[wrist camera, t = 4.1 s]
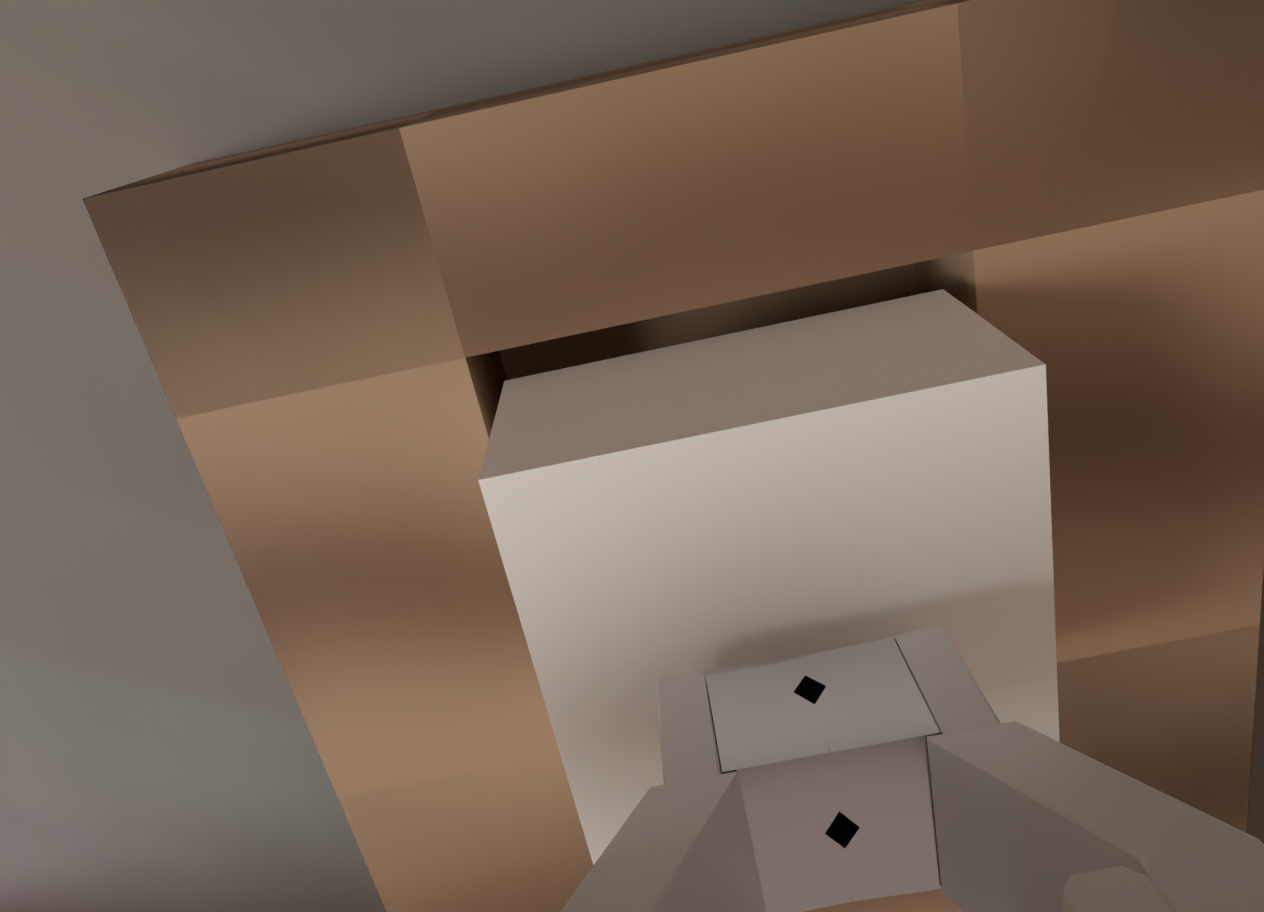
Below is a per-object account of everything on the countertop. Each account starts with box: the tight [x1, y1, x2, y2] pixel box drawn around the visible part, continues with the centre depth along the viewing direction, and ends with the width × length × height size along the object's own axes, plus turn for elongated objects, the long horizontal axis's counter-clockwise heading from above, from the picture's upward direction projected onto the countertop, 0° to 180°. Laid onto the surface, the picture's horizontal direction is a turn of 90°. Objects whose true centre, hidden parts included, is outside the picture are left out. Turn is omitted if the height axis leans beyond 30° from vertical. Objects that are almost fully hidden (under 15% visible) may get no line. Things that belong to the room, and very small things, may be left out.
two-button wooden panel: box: [83, 0, 1264, 912], centre depth 17 cm, size 24×14×3 cm, turn 12°
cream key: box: [478, 289, 1060, 865], centre depth 12 cm, size 6×6×3 cm
